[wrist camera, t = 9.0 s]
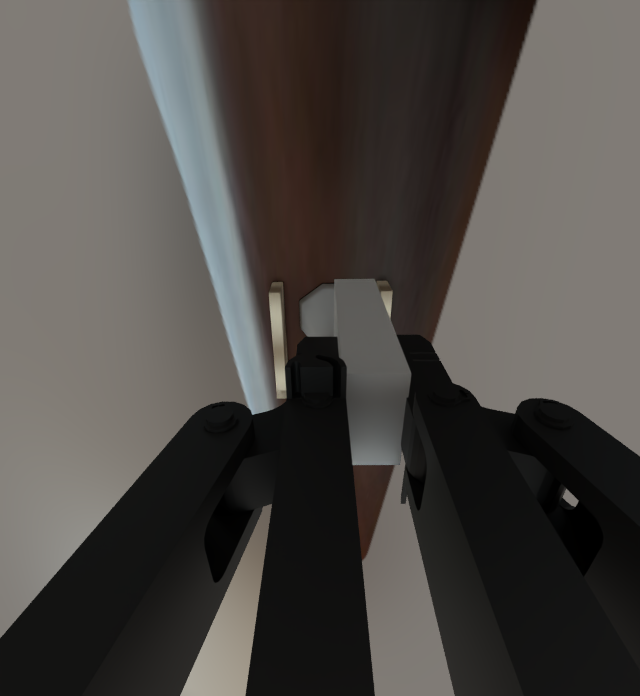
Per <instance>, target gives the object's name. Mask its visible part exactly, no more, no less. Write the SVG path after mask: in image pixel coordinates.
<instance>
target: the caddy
mask: <svg viewBox="0 0 640 696" xmlns="http://www.w3.org/2000/svg"><path fill="white" fill-rule="evenodd" d="M376 284H377V287H378V289H379V292H380V294H381V297H382V299H383V302H384V305H385V307H386V310H387V312H388V315H389V317H390V316H391V304H392V292H393V291H392V289H391V287H390V285H389V283H388V282H387V281H377V283H376ZM269 301H270V314H271V326H272V338H273V351H274V363H275V375H276V388H277V398H287V395H286V381H285V366H286V364H287V362H288V357H287V340H286V324H285V308H284V291H283V282H272V285H271V288H270V291H269Z"/></svg>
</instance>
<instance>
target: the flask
mask: <svg viewBox="0 0 640 696" xmlns="http://www.w3.org/2000/svg"><path fill="white" fill-rule="evenodd" d="M299 311H300V328H301V329H302V330H303V332H304V333H305V334H306V335H307V336H308V337H334V284H322V285H320V286H319V287H317V288H316V289H315V290H313V291H312V292H311V293H309V294H308V295H306V296H305V297H304V298H302V299H301V300H300V301H299Z"/></svg>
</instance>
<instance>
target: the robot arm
mask: <svg viewBox="0 0 640 696" xmlns="http://www.w3.org/2000/svg"><path fill="white" fill-rule="evenodd" d="M285 381H286V395H287V401H286V402H285V403H284V404H282V405H281V406H279V407H277V408H275V409H273V410H270V411H267V412H263V413H259V414H254V415H252V413H251V410H250V409H248V408H247V407H246V406H245V405H243V404H240V403H236V402H219V403H215V404H210V405H208V406H206V407H204V408H202V409H200V410H198V411H197V412H196V413H195V414H194V415H192V416H191V418H190V419H189V420H188V421H187V422H186V423H185V424H184V426H183V427H182V428H181V429H180V430H179V431H178V433H177V434H176V435H175V436H174V437H173V438H172V440H171V441H170V442H169V443H168V444H167V446H166V447H165V448H164V449H163V450H162V451H161V452H160V454H159V455H158V456H157V457H156V458H155V459H154V460H153V462H152V463H151V464H150V465H149V466H148V467H147V469H146V470H145V471H144V472H143V473H142V474H141V476H140V477H139V478H138V479H137V480H136V481H135V483H134V484H133V485H132V486H131V487H130V488H129V490H128V491H127V492H126V493H125V494H124V495H123V496H122V498H121V499H120V500H119V501H118V502H117V503H116V505H115V506H114V507H113V508H112V509H111V510H110V512H109V513H108V514H107V515H106V516H105V517H104V519H103V520H102V521H101V522H100V523H99V524H98V526H97V527H96V528H95V529H94V530H93V532H91V534H90V535H89V536H88V537H87V538H86V539H85V541H84V542H83V543H82V544H81V545H80V547H79V548H78V549H77V550H76V551H75V552H74V553H73V555H72V556H71V557H70V558H69V559H68V560H67V561H66V563H65V564H64V565H63V566H62V567H61V569H60V570H59V571H58V572H57V573H56V574H55V575H54V577H53V578H52V579H51V580H50V581H49V582H48V584H47V585H46V586H45V587H44V588H43V589H42V591H41V592H40V593H39V594H38V595H37V596H36V598H35V599H34V600H33V601H32V603H30V605H29V606H28V607H27V608H26V609H25V610H24V611H23V613H22V614H21V615H20V616H19V617H18V618H17V620H16V621H15V622H14V623H13V624H12V625H11V627H10V628H9V629H8V630H7V631H6V633H5V634H4V635H3V636H2V637H1V638H0V696H180V694H181V692H182V690H183V688H184V685H185V683H186V681H187V678H188V676H189V674H190V672H191V670H192V667H193V665H194V663H195V660H196V658H197V656H198V654H199V652H200V649H201V647H202V645H203V643H204V641H205V638H206V636H207V634H208V632H209V629H210V627H211V625H212V622H213V620H214V618H215V616H216V613H217V611H218V609H219V607H220V604H221V602H222V600H223V598H224V596H225V593H226V591H227V589H228V587H229V584H230V582H231V580H232V578H233V575H234V573H235V571H236V569H237V566H238V564H239V562H240V560H241V557H242V555H243V553H244V551H245V548H246V546H247V544H248V542H249V539H250V537H251V535H252V533H253V530H254V528H255V526H256V524H257V521H258V519H259V517H260V515H261V512H262V508H263V506H267V505H269V504H272V509H271V516H270V523H269V530H268V538H267V545H266V552H265V559H264V567H263V574H262V581H261V588H260V595H259V602H258V610H257V617H256V624H255V632H254V639H253V646H252V653H251V660H250V667H249V675H248V682H247V689H246V696H375V694H374V683H373V672H372V662H371V652H370V642H369V631H368V620H367V610H366V600H365V589H364V579H363V569H362V558H361V548H360V537H359V527H358V517H357V506H356V496H355V486H354V475H353V465H400V460H401V452H403V455H404V459H405V463H406V464H405V471H404V478H403V486H402V493H401V504H405V503H406V497H408V501H409V505H410V509H411V513H412V518H413V522H414V526H415V530H416V534H417V539H418V543H419V547H420V551H421V555H422V560H423V564H424V568H425V572H426V576H427V580H428V585H429V589H430V593H431V597H432V602H433V606H434V610H435V614H436V618H437V622H438V627H439V631H440V635H441V639H442V644H443V648H444V652H445V656H446V660H447V665H448V669H449V673H450V677H451V681H452V686H453V690H454V694H455V696H640V456H638V455H637V454H636V453H634V452H633V451H632V450H630V449H629V448H628V447H626V446H625V445H623V444H622V443H621V442H619V441H618V440H617V439H615V438H614V437H613V436H611V435H610V434H608V433H607V432H606V431H604V430H603V429H602V428H600V427H599V426H597V425H596V424H595V423H594V422H592V421H591V420H590V419H588V418H587V417H586V416H584V415H583V414H581V413H580V412H578V411H577V410H575V409H573V408H572V407H570V406H568V405H565V404H562V403H559V402H558V401H554V400H548V399H543V398H538V399H537V398H535V399H528V400H525V401H522V402H521V403H520V404H519V406H518V407H517V410H516V413H515V414H513V413H507V412H502V411H497V410H492V409H487V408H484V407H481V406H480V404H479V403H478V401H477V399H476V398H475V397H474V395H473V394H472V393H471V392H470V391H468V390H467V389H465V388H463V387H461V386H459V385H456V384H453V383H452V381H451V379H450V377H449V376H448V374H447V372H446V370H445V369H444V366H443V365H442V363H441V361H439V357H438V356H437V354H436V353H435V350H434V348H433V346H432V345H431V343H430V342H429V341H428V340H426V339H425V338H423V337H422V336H420V335H396V333H395V330H394V328H393V325H392V323H391V320H390V317H389V315H388V312H387V310H386V307H385V305H384V302H383V299H382V297H381V294H380V292H379V289H378V287H377V284H376V281H375V279H334V337H305V338H304V339H303V340H302V341H301V342H300V343H299V344H298V345H297V353H296V356H295V357H293V358H292V359H290V360H289V361H288V362H287V364H286V366H285ZM566 488H567V489H568V490H569V491H570V492H571V493H572V494H573V495H574V496H575V497H576V498H577V499H578V500H579V502H578V504H577V506H576V507H574V506H571V505H570V504H569V503H568V502H566V501H565V500H564V499H563V498H562V497H563V495H564V493H565V490H566Z"/></svg>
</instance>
